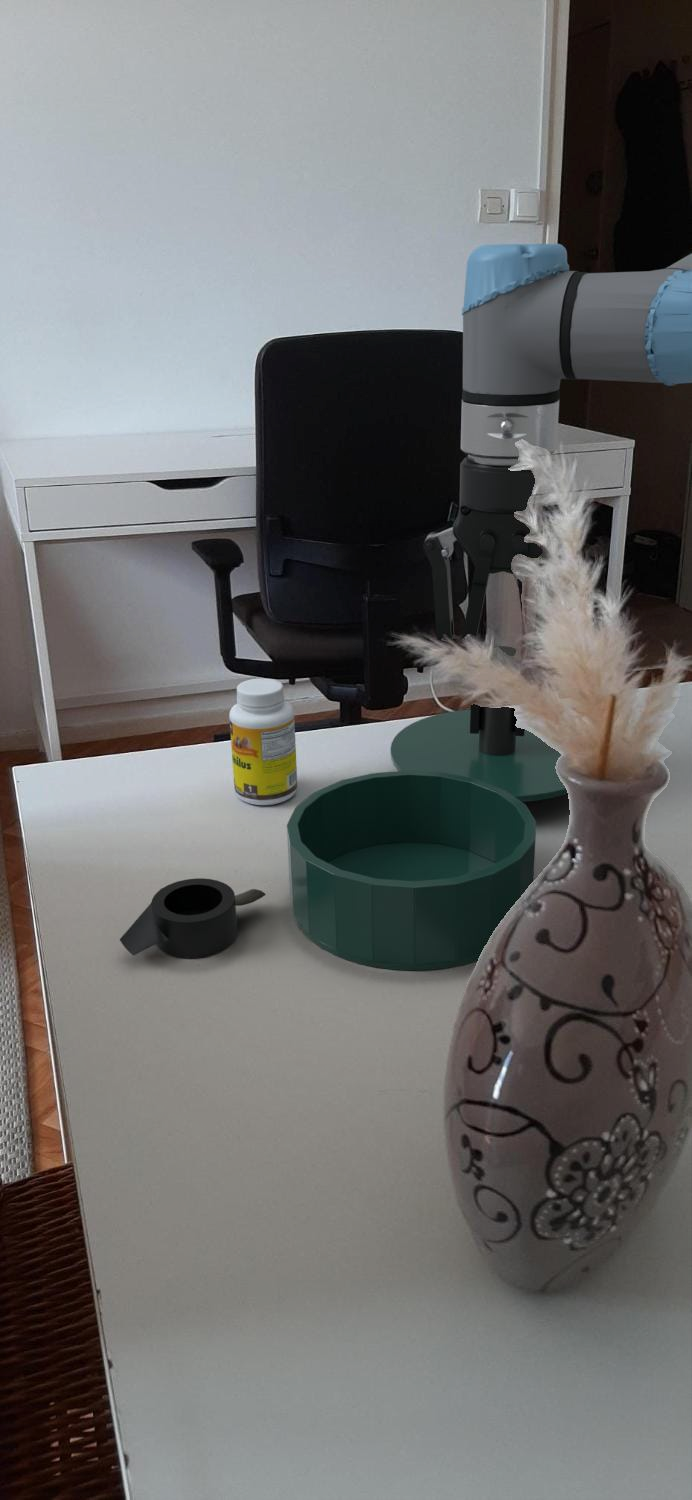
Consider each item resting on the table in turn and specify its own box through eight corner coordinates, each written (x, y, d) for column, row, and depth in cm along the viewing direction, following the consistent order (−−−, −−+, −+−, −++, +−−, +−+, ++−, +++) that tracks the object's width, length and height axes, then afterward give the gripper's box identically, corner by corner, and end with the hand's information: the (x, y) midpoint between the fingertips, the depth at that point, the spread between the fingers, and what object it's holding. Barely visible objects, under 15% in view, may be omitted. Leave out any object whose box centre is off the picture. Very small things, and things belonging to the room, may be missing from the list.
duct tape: (268, 961, 78) (265, 925, 77) (119, 971, 77) (114, 934, 76) (266, 901, 85) (264, 867, 84) (130, 910, 84) (126, 876, 83)
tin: (535, 851, 91) (539, 777, 88) (527, 981, 75) (531, 895, 72) (318, 836, 94) (315, 764, 91) (266, 958, 78) (261, 876, 76)
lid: (602, 725, 109) (611, 622, 104) (607, 816, 92) (617, 697, 88) (405, 715, 112) (405, 614, 108) (375, 801, 95) (374, 685, 91)
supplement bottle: (226, 787, 103) (218, 680, 99) (284, 775, 105) (279, 670, 101) (246, 813, 98) (239, 702, 94) (307, 800, 100) (302, 690, 96)
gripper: (399, 463, 89) (399, 740, 99) (614, 466, 86) (593, 751, 96) (412, 447, 96) (411, 708, 105) (612, 449, 93) (592, 717, 102)
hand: (497, 728), depth 100 cm, fingers closed on lid, 3 cm apart
